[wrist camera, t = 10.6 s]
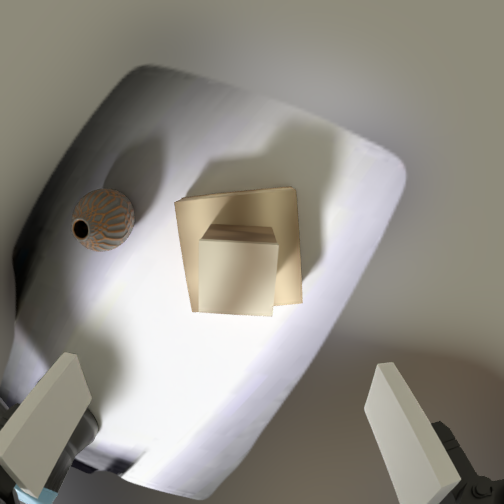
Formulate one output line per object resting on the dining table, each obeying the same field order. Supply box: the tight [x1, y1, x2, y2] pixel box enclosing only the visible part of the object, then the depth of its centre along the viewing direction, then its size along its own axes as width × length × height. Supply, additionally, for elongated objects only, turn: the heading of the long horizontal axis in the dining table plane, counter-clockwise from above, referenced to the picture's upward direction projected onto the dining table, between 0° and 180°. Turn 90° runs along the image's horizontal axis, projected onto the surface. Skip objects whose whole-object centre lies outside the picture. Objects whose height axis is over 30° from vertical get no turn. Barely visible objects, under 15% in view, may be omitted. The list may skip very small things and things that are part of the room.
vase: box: [71, 189, 135, 252], centre depth 30 cm, size 7×7×9 cm
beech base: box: [174, 187, 303, 312], centre depth 33 cm, size 12×12×5 cm
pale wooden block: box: [199, 224, 279, 316], centre depth 27 cm, size 6×6×7 cm
